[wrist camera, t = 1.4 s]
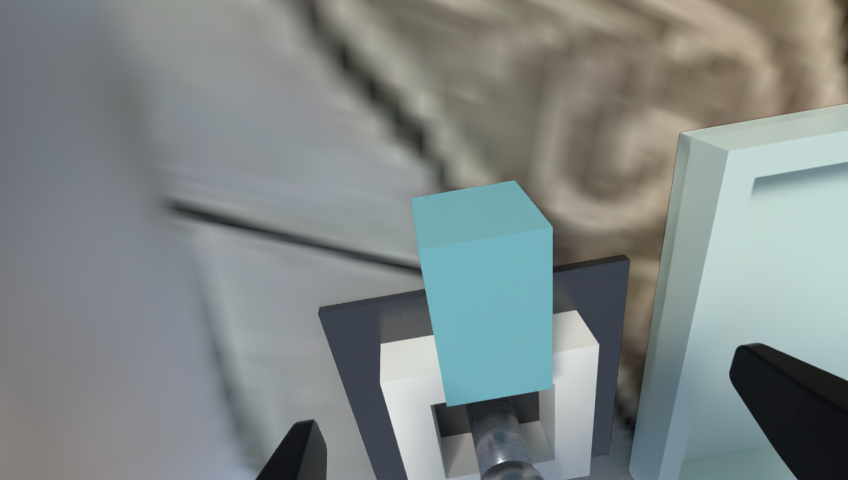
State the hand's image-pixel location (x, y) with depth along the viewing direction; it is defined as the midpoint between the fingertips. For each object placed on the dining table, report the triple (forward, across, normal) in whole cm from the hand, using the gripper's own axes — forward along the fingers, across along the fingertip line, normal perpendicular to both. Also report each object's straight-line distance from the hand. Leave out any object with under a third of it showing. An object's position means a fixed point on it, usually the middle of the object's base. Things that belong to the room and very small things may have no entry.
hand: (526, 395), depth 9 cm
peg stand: (+7, 0, +8) cm, 11 cm away
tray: (+7, -14, +7) cm, 17 cm away
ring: (+7, 0, +5) cm, 8 cm away
